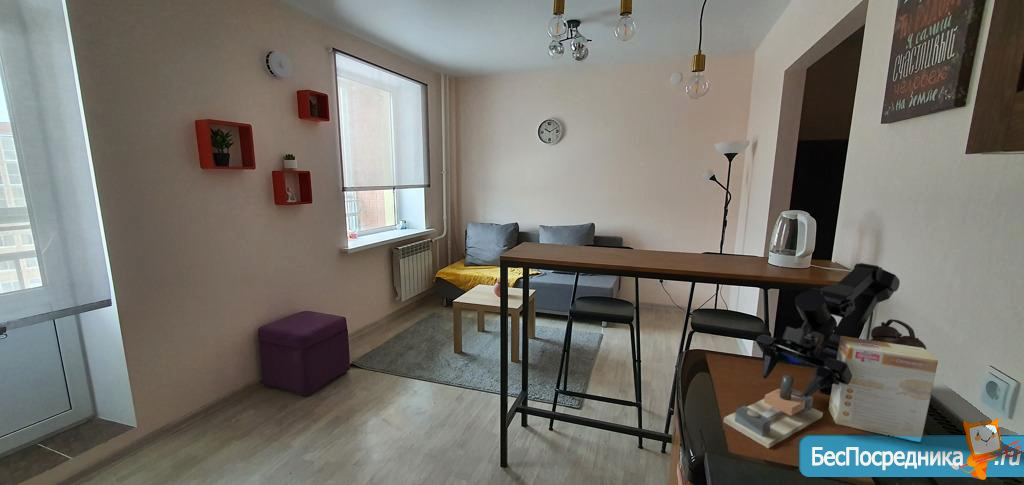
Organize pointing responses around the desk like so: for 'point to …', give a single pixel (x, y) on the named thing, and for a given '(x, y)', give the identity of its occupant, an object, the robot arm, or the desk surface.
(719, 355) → the desk surface
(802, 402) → the carriage
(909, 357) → the coffeecake box
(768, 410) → the rail track
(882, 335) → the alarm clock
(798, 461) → the desk surface
